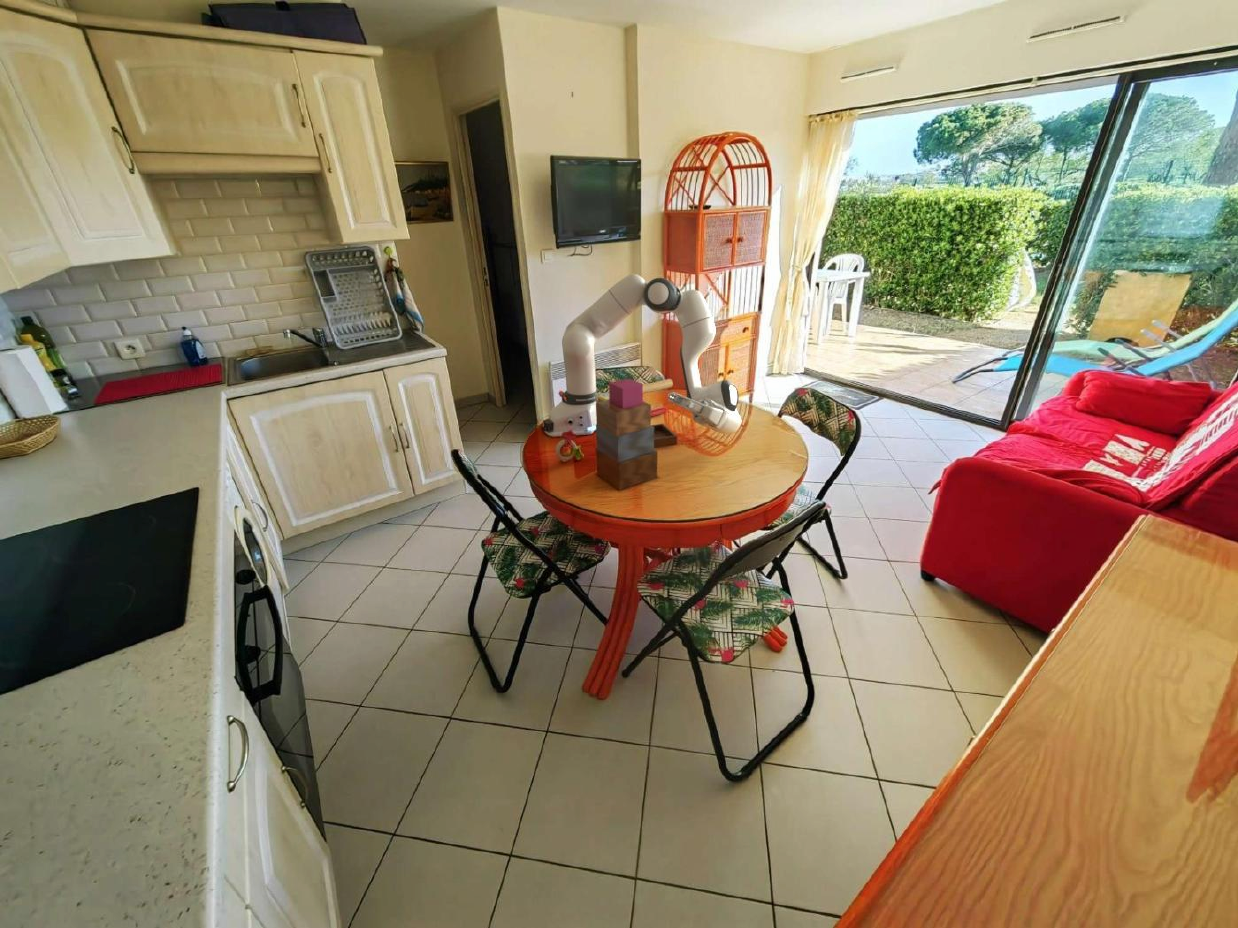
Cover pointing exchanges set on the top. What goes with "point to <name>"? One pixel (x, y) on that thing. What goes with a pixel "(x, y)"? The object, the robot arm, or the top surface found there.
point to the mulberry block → (633, 391)
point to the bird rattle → (564, 449)
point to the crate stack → (625, 444)
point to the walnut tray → (663, 436)
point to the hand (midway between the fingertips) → (678, 399)
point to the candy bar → (658, 410)
